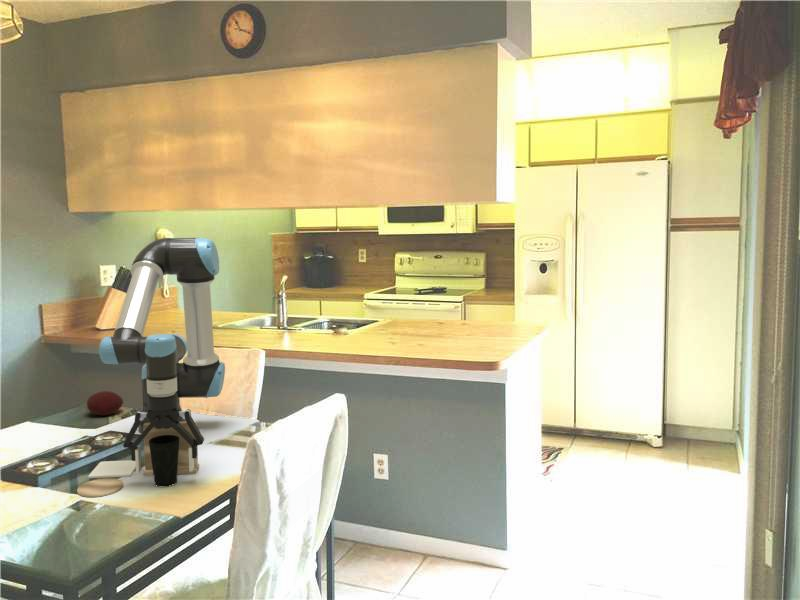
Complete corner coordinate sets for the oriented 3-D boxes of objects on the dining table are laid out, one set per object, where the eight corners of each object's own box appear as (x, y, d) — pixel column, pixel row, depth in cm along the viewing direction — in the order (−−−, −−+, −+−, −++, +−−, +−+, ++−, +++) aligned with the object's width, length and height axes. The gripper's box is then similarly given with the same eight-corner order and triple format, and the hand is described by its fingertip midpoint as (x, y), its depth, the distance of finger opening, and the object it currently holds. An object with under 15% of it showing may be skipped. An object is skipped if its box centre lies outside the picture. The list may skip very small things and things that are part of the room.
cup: (171, 489, 171) (169, 445, 170) (144, 487, 173) (142, 443, 171) (186, 478, 179) (184, 435, 177) (160, 476, 180) (159, 433, 179)
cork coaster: (85, 481, 176) (85, 479, 176) (128, 479, 178) (128, 477, 178) (71, 498, 165) (70, 496, 165) (116, 496, 167) (116, 493, 167)
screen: (148, 469, 185) (146, 421, 183) (199, 466, 187) (197, 419, 185) (143, 475, 180) (141, 426, 178) (196, 473, 182) (194, 424, 180)
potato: (80, 417, 232) (79, 394, 231) (99, 408, 243) (98, 387, 242) (110, 419, 230) (109, 396, 229) (128, 410, 241) (127, 388, 240)
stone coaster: (100, 463, 189) (100, 461, 189) (140, 461, 190) (140, 459, 190) (88, 478, 178) (87, 476, 178) (130, 476, 180) (130, 474, 180)
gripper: (108, 398, 167) (112, 478, 170) (209, 395, 171) (211, 474, 173) (116, 391, 175) (120, 467, 177) (213, 388, 178) (215, 463, 181)
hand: (165, 471), depth 175 cm, fingers open, 13 cm apart
